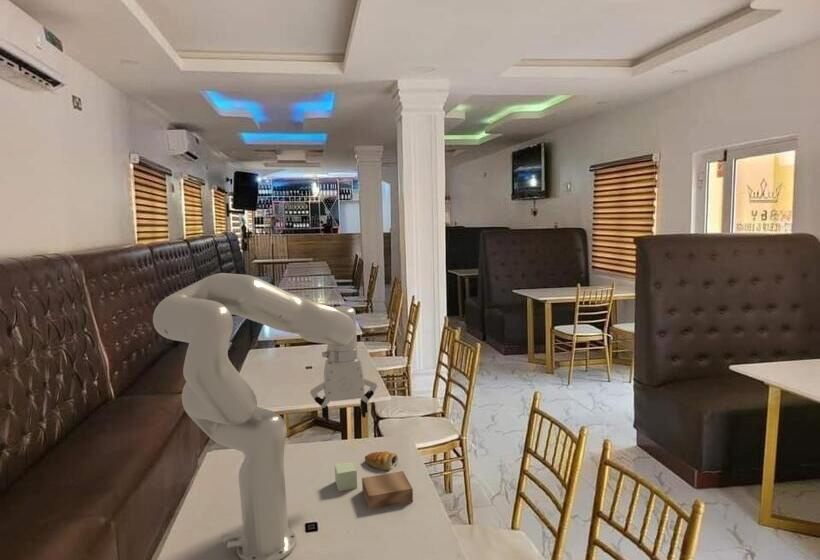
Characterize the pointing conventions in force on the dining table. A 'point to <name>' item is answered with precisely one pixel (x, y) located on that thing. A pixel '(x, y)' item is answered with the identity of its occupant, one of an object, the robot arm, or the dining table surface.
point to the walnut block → (387, 490)
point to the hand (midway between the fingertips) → (345, 417)
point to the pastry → (382, 460)
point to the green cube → (345, 476)
